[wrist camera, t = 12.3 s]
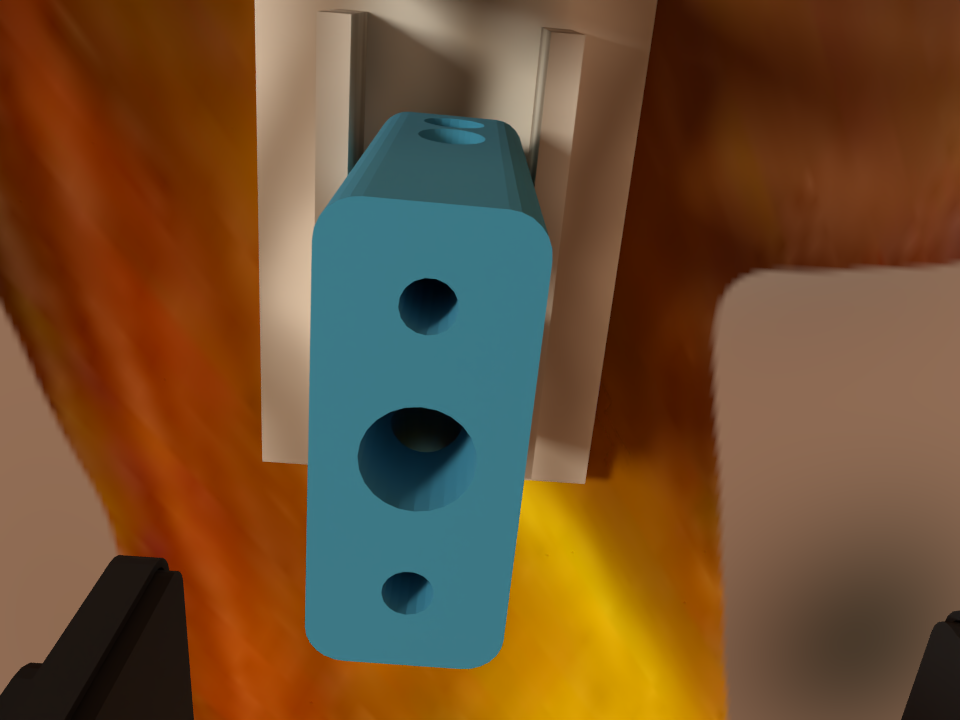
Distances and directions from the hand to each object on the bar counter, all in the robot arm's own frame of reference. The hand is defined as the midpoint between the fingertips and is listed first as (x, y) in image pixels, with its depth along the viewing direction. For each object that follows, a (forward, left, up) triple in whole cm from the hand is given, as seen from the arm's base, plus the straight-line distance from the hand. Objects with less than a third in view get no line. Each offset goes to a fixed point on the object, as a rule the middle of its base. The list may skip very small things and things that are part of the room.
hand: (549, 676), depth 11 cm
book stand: (+2, +2, -31) cm, 31 cm away
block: (+2, +2, -29) cm, 29 cm away
